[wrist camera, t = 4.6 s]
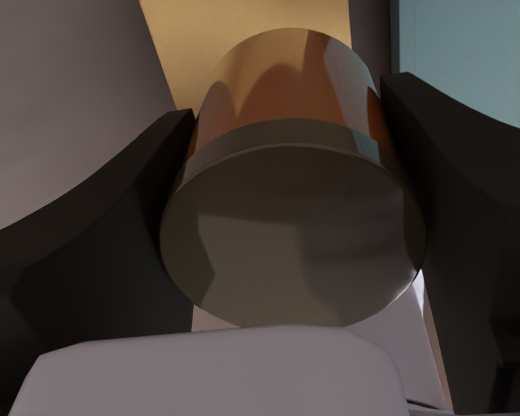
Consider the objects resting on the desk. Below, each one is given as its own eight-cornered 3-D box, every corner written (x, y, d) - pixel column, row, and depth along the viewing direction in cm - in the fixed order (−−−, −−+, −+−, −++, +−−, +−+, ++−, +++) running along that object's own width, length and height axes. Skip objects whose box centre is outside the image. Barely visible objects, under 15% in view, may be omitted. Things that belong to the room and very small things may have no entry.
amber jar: (384, 174, 13) (426, 325, 9) (224, 196, 14) (200, 344, 10) (377, 3, 10) (433, 120, 6) (174, 43, 11) (114, 168, 7)
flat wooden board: (360, 218, 27) (368, 264, 24) (239, 232, 28) (234, 277, 25) (325, -192, 15) (333, -191, 13) (123, -140, 16) (92, -130, 14)
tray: (578, 171, 24) (598, 196, 22) (394, 195, 25) (400, 219, 24) (692, -226, 14) (741, -230, 13) (386, -152, 16) (397, -149, 14)
